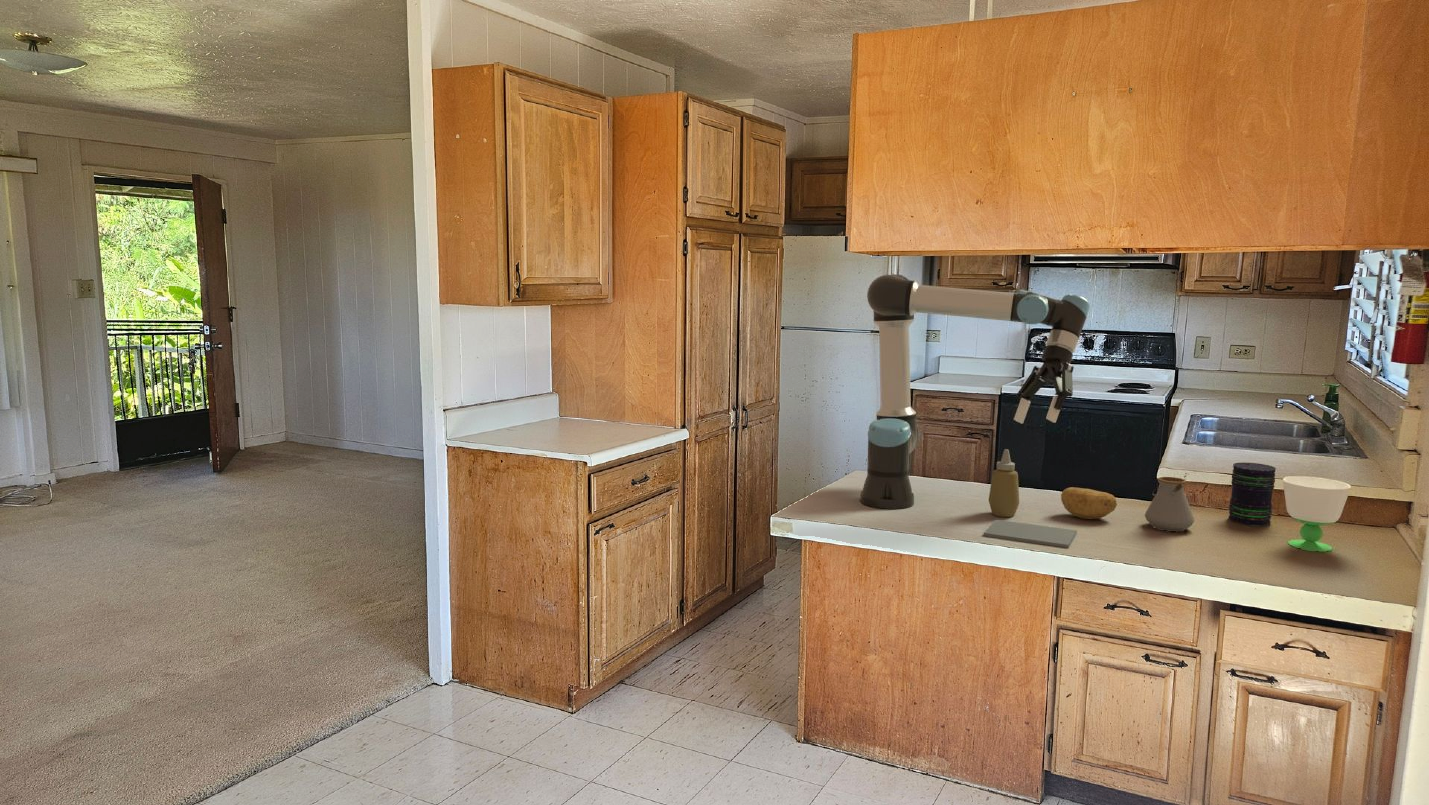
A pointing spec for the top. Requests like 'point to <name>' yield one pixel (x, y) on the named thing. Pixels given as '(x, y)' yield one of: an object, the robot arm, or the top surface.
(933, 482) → the top surface
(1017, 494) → the squeeze bottle
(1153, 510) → the coffee pot
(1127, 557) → the top surface
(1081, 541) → the top surface
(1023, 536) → the rubber mat
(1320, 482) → the cup
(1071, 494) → the potato
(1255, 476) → the storage jar
